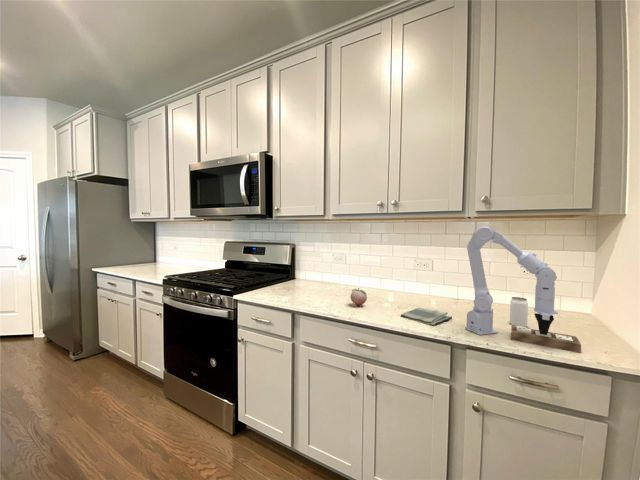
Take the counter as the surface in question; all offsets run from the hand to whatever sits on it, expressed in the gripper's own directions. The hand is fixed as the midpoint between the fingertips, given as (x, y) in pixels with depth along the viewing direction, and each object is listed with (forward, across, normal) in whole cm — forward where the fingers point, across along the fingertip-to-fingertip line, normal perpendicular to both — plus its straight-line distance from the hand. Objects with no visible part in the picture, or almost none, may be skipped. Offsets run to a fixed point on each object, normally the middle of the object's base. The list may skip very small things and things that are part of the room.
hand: (543, 333), depth 106 cm
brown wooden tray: (+3, 0, 0) cm, 3 cm away
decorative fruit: (+3, +3, +80) cm, 80 cm away
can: (+3, +18, +7) cm, 20 cm away
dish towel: (+4, +4, +44) cm, 44 cm away
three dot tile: (+2, 0, +6) cm, 6 cm away
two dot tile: (+4, 0, -6) cm, 7 cm away
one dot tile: (+4, 0, 0) cm, 4 cm away
